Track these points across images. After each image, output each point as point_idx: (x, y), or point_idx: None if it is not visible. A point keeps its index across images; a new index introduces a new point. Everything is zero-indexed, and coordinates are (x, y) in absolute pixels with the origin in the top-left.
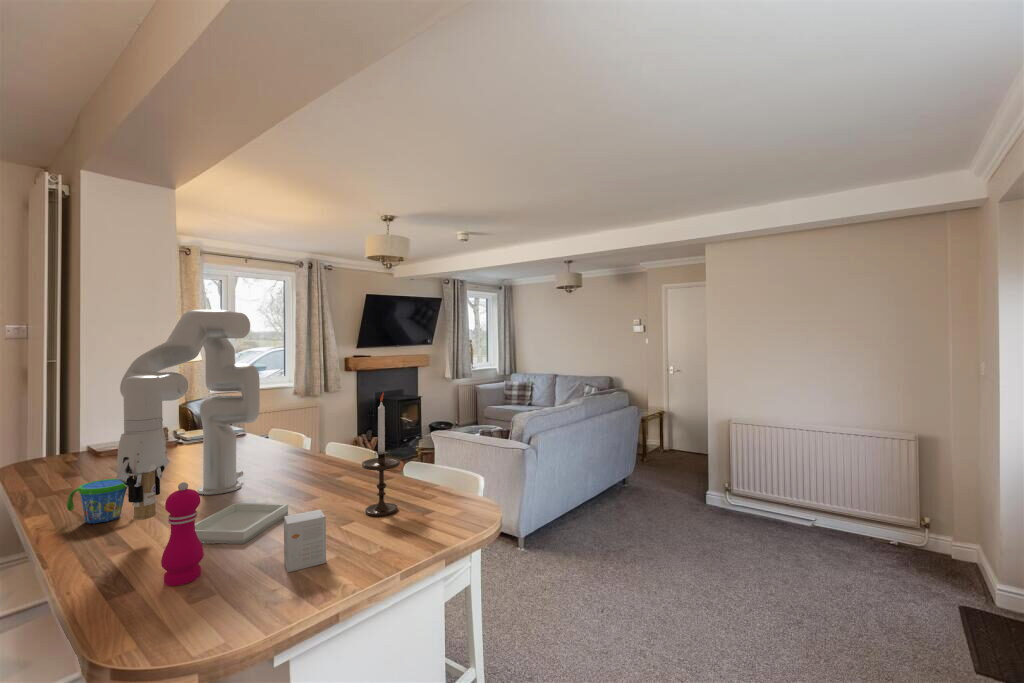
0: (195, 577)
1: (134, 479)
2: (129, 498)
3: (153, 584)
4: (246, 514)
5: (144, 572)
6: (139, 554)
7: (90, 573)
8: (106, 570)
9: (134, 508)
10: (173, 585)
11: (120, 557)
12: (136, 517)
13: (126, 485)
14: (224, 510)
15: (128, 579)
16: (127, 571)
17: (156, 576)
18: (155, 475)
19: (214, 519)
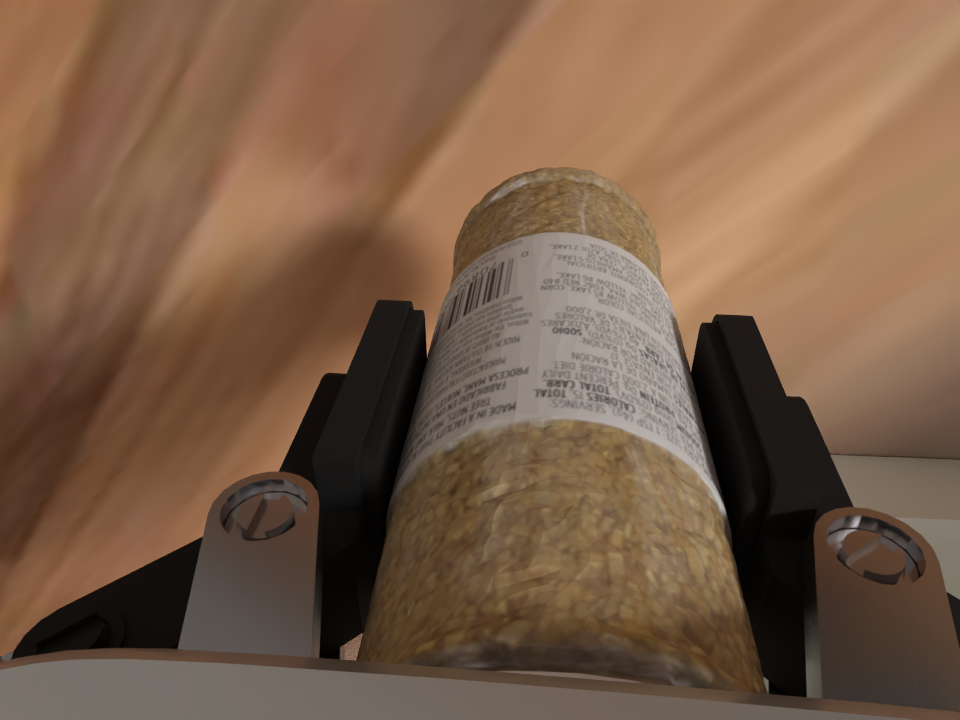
0: None
1: (380, 597)
2: (328, 378)
3: (76, 592)
4: (950, 590)
5: (144, 497)
6: (320, 319)
7: (25, 237)
8: (89, 299)
9: (456, 275)
10: None
11: (255, 232)
12: (455, 261)
13: (218, 515)
14: (956, 535)
15: (64, 479)
16: (123, 417)
17: (132, 563)
18: (788, 679)
19: None
